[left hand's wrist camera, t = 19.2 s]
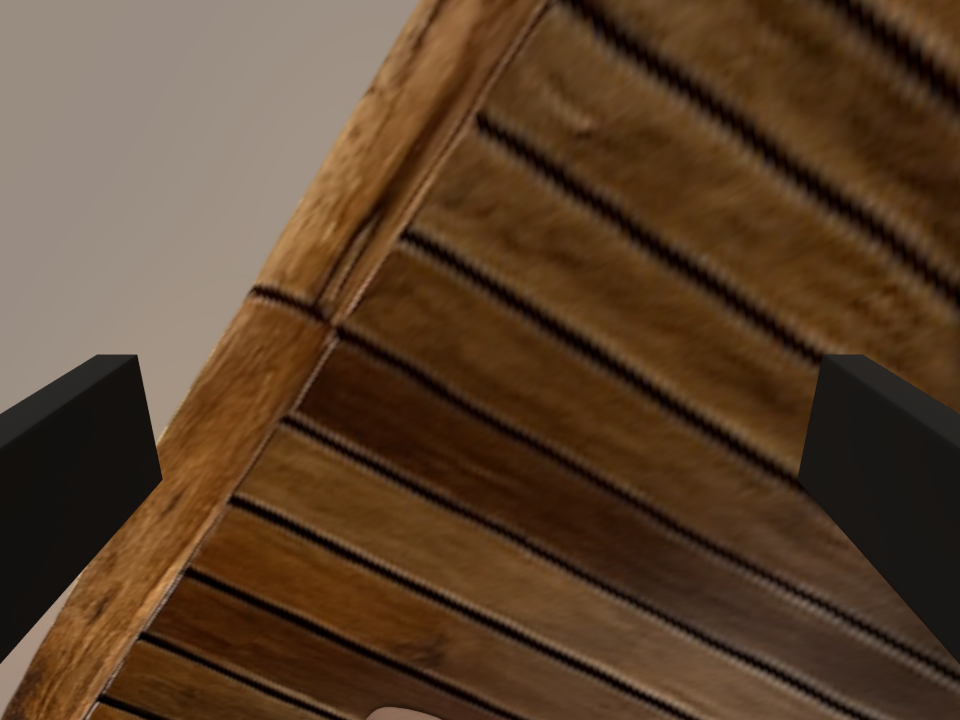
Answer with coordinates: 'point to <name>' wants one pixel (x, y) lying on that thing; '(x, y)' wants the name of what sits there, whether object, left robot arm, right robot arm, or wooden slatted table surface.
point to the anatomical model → (399, 714)
